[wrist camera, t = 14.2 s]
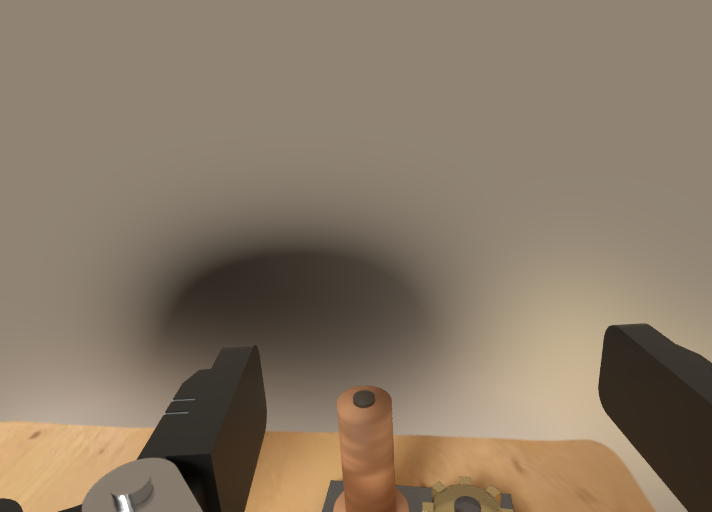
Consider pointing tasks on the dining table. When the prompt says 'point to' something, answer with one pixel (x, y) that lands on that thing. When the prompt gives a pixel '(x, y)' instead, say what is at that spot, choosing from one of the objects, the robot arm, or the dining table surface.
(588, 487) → the dining table surface
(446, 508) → the sun gear
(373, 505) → the brown round post
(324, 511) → the carrier plate
